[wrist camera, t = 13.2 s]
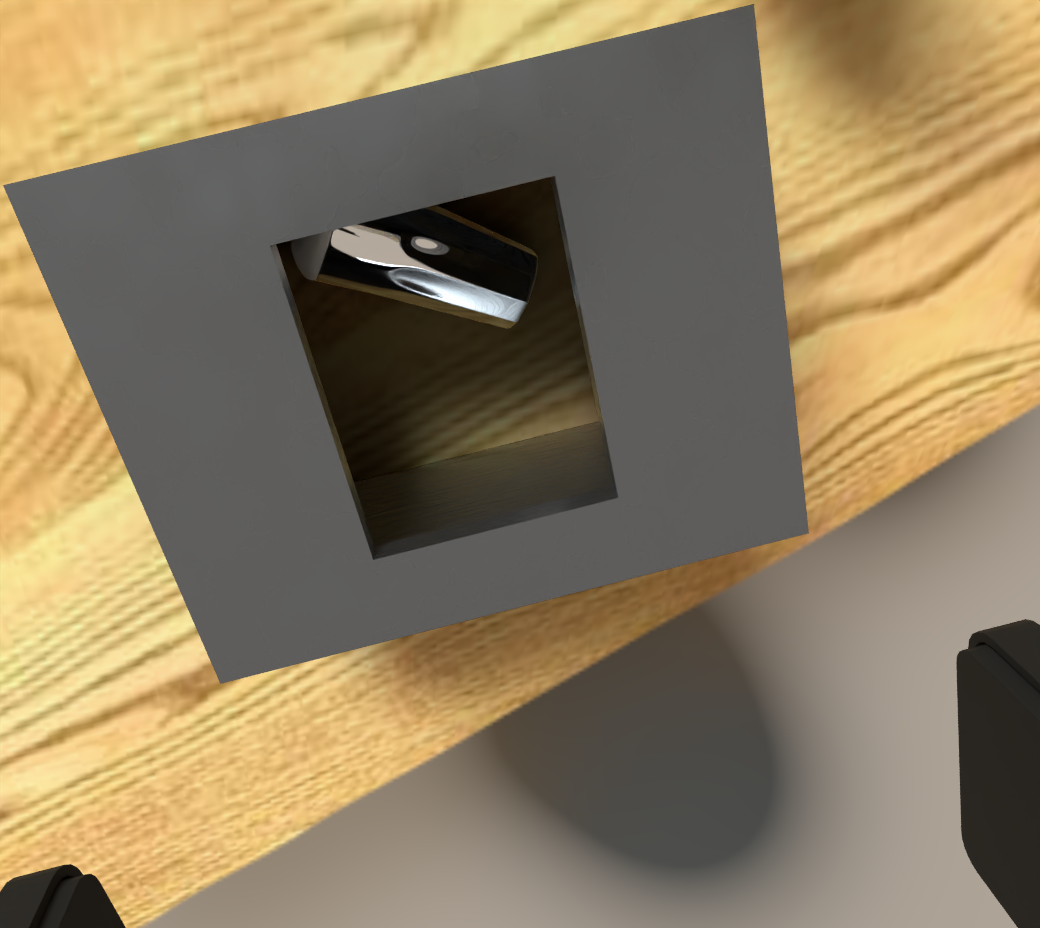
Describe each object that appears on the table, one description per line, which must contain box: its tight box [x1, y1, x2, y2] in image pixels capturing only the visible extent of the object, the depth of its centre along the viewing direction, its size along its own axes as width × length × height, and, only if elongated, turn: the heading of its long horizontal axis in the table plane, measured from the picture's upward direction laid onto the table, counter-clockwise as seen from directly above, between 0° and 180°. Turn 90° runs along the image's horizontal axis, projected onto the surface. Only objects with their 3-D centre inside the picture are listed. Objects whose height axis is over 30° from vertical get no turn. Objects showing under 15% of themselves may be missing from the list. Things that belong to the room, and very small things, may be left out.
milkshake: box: [291, 205, 538, 329], centre depth 34 cm, size 5×5×10 cm
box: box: [3, 4, 809, 684], centre depth 31 cm, size 20×16×12 cm
